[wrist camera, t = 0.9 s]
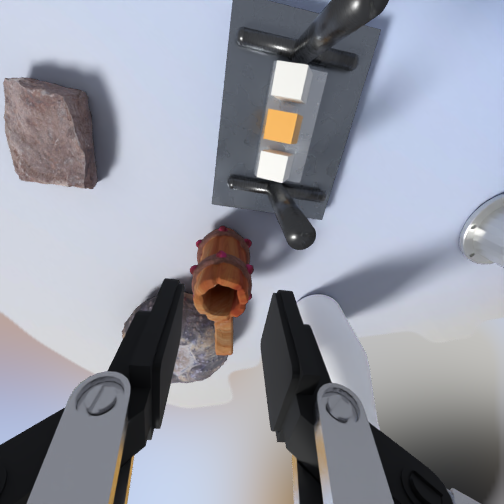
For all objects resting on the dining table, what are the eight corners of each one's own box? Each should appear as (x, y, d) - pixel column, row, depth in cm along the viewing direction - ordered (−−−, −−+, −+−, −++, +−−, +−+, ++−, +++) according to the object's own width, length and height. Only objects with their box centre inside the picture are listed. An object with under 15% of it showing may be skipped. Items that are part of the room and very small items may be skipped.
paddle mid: (303, 116, 29) (297, 113, 25) (296, 143, 30) (290, 144, 27) (277, 111, 30) (268, 108, 26) (272, 138, 31) (263, 138, 27)
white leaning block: (294, 154, 31) (288, 156, 27) (288, 178, 32) (282, 183, 29) (270, 149, 31) (261, 150, 28) (265, 172, 33) (256, 176, 29)
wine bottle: (333, 329, 52) (439, 553, 25) (287, 331, 51) (345, 563, 25) (342, 291, 48) (482, 512, 21) (291, 292, 47) (368, 523, 20)
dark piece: (370, 35, 30) (532, -57, 14) (316, 214, 40) (375, 282, 24) (233, 1, 28) (235, -158, 12) (212, 198, 38) (198, 262, 22)
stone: (10, 75, 30) (-25, 69, 26) (94, 87, 31) (73, 83, 27) (36, 179, 35) (11, 187, 31) (106, 186, 36) (91, 195, 32)
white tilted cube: (312, 74, 27) (308, 64, 24) (305, 104, 28) (300, 99, 25) (285, 69, 28) (276, 60, 24) (279, 99, 29) (270, 94, 26)
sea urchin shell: (109, 297, 44) (91, 338, 35) (217, 268, 47) (225, 300, 38) (147, 371, 53) (140, 419, 44) (237, 342, 55) (247, 382, 47)
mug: (196, 218, 39) (178, 271, 26) (250, 218, 40) (260, 270, 26) (202, 296, 46) (191, 370, 33) (248, 295, 47) (255, 367, 33)
